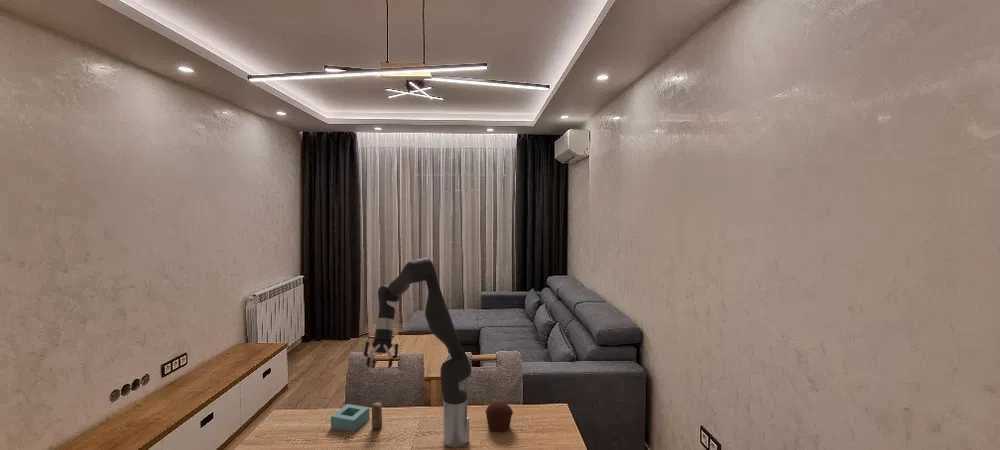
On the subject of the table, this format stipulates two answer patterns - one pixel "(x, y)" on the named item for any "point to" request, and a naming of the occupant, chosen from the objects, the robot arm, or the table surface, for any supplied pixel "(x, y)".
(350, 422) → the socket block
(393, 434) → the table surface
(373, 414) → the peg
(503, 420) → the muffin
